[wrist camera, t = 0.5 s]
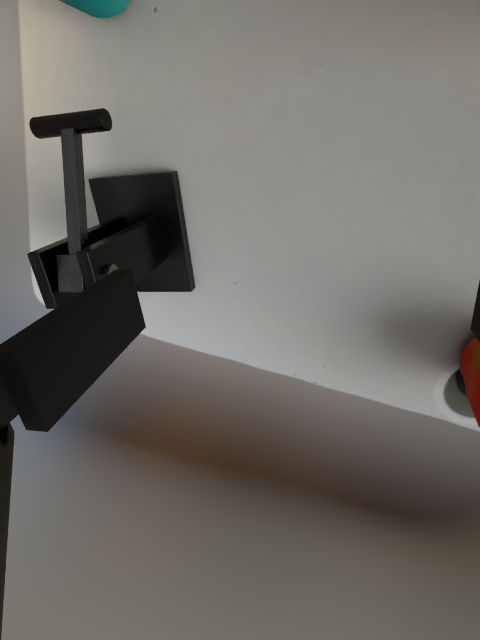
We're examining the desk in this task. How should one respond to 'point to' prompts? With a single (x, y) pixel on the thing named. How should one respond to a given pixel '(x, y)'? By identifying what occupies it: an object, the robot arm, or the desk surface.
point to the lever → (72, 182)
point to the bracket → (127, 238)
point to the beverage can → (99, 7)
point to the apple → (472, 374)
